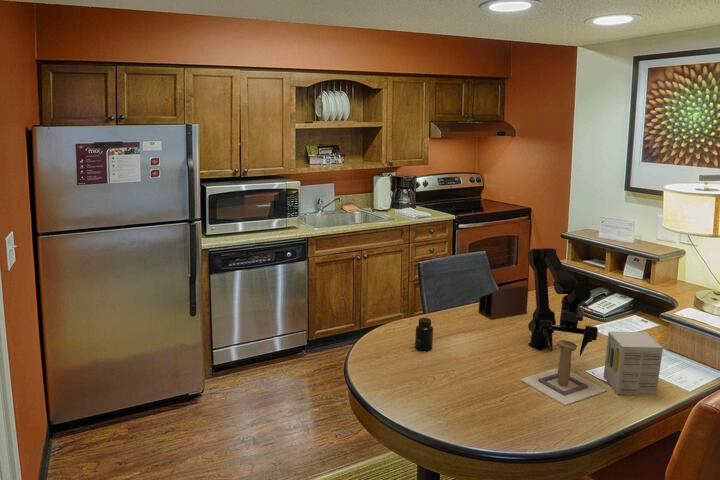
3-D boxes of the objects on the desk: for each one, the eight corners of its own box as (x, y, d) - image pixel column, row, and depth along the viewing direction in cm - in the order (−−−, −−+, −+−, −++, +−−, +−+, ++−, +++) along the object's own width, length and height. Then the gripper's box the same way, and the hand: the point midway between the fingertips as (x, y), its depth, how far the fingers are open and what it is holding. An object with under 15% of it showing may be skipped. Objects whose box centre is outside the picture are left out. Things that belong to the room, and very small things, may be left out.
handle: (566, 390, 197) (570, 348, 193) (550, 382, 202) (554, 342, 198) (575, 386, 199) (579, 345, 196) (559, 378, 204) (563, 338, 201)
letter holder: (527, 314, 268) (529, 284, 264) (491, 320, 260) (493, 290, 257) (513, 307, 277) (515, 278, 273) (478, 312, 269) (479, 283, 265)
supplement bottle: (412, 350, 228) (413, 321, 225) (417, 343, 234) (418, 315, 231) (429, 353, 225) (431, 324, 223) (434, 346, 232) (435, 318, 229)
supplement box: (602, 376, 207) (607, 330, 203) (639, 377, 207) (646, 331, 203) (617, 395, 195) (623, 346, 190) (657, 396, 194) (664, 347, 190)
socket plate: (560, 368, 214) (560, 364, 213) (606, 391, 197) (607, 388, 197) (519, 380, 204) (520, 376, 204) (564, 406, 187) (565, 402, 187)
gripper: (542, 297, 201) (537, 339, 193) (600, 304, 194) (597, 348, 187) (541, 311, 210) (536, 352, 202) (597, 318, 203) (594, 361, 196)
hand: (565, 353), depth 197 cm, fingers open, 9 cm apart
